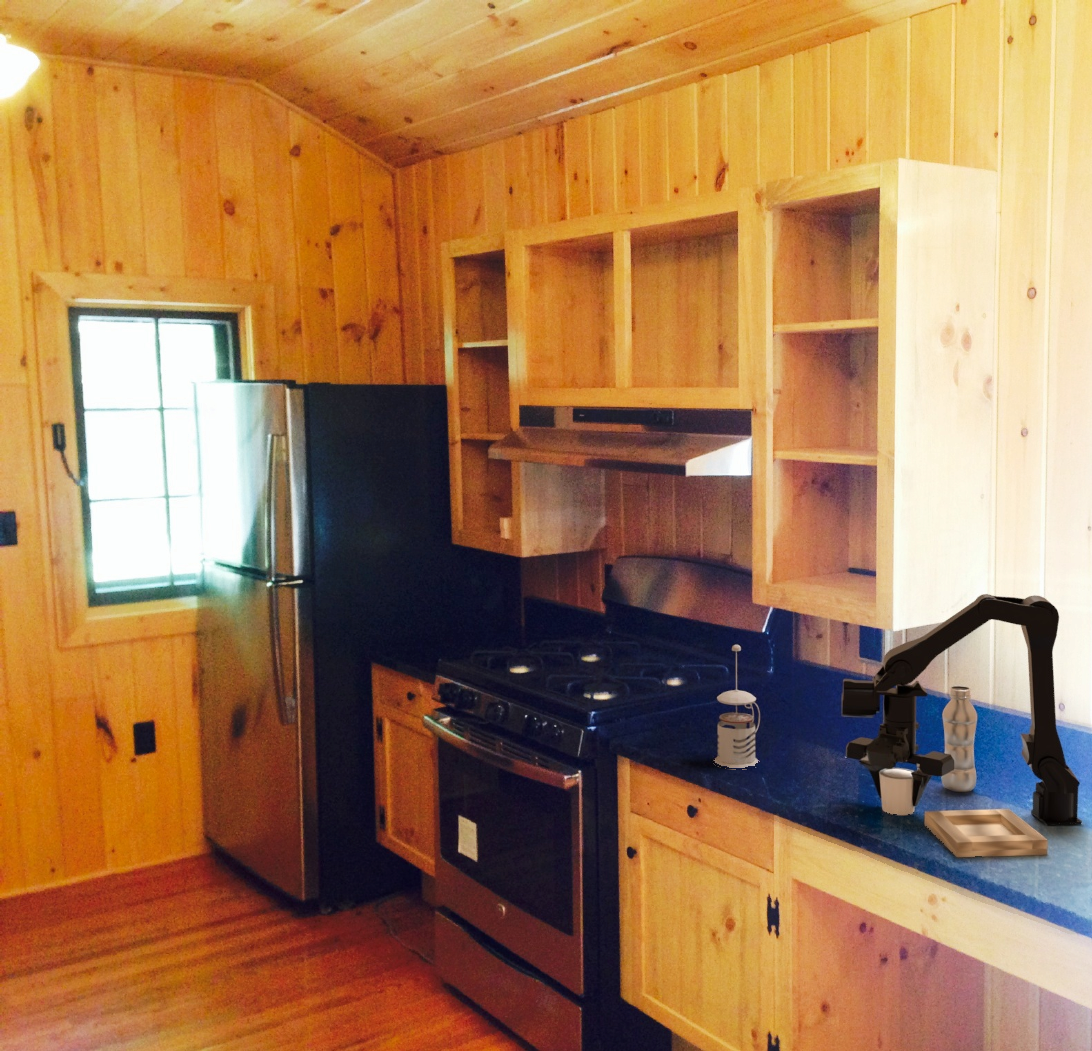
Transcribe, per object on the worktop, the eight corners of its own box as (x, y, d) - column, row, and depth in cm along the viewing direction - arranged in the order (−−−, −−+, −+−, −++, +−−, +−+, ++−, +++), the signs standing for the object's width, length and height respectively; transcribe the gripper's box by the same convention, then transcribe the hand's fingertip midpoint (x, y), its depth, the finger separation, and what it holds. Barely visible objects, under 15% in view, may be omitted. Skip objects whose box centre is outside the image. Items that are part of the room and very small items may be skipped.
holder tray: (1008, 822, 208) (1008, 808, 208) (1047, 854, 193) (1047, 839, 193) (924, 824, 208) (924, 811, 207) (956, 857, 193) (957, 842, 192)
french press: (703, 762, 246) (702, 644, 244) (738, 751, 254) (738, 636, 252) (740, 772, 239) (739, 651, 237) (775, 760, 247) (775, 643, 244)
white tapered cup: (888, 801, 220) (888, 764, 220) (923, 808, 216) (924, 771, 215) (872, 811, 215) (873, 774, 214) (908, 819, 211) (909, 781, 210)
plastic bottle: (940, 794, 224) (941, 691, 222) (941, 783, 230) (942, 682, 228) (976, 797, 222) (978, 693, 220) (976, 786, 228) (978, 685, 226)
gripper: (831, 718, 214) (830, 802, 216) (928, 737, 202) (927, 825, 203) (860, 706, 222) (860, 787, 224) (956, 723, 210) (954, 808, 211)
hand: (898, 801), depth 215 cm, fingers closed on white tapered cup, 6 cm apart
